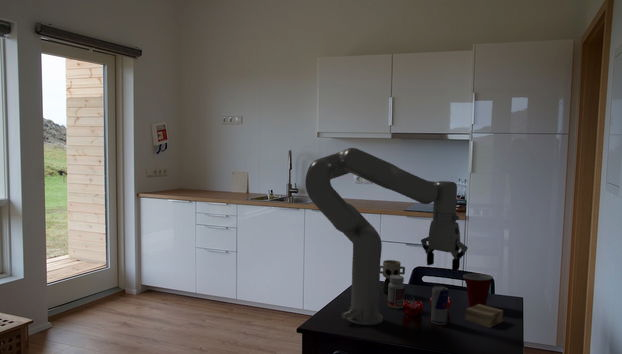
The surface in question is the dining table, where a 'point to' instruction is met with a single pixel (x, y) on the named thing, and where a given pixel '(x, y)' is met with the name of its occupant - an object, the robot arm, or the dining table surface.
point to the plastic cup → (477, 288)
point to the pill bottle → (396, 291)
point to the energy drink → (439, 305)
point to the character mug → (390, 271)
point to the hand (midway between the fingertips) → (442, 267)
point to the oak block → (484, 315)
